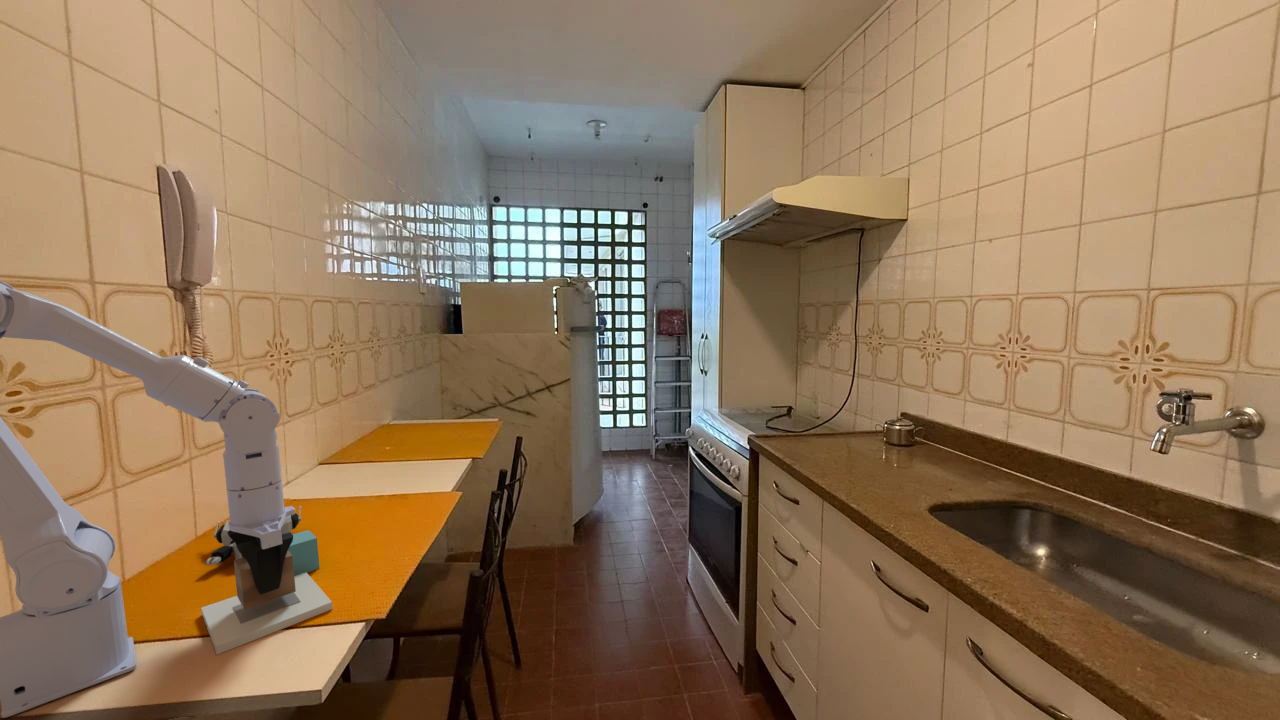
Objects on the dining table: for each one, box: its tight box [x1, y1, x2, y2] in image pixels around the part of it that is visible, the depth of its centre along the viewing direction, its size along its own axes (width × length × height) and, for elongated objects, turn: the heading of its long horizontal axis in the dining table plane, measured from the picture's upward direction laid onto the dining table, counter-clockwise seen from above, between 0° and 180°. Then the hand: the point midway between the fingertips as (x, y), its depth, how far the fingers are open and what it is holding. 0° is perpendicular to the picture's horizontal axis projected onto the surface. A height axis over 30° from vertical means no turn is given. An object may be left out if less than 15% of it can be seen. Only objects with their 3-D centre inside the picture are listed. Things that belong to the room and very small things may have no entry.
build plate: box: [200, 572, 333, 655], centre depth 68 cm, size 12×12×1 cm
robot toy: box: [205, 505, 302, 566], centre depth 87 cm, size 12×4×15 cm
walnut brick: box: [233, 551, 296, 610], centre depth 67 cm, size 6×4×5 cm
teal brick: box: [288, 529, 320, 576], centre depth 79 cm, size 6×4×5 cm
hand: (264, 583), depth 67 cm, fingers closed on walnut brick, 4 cm apart
